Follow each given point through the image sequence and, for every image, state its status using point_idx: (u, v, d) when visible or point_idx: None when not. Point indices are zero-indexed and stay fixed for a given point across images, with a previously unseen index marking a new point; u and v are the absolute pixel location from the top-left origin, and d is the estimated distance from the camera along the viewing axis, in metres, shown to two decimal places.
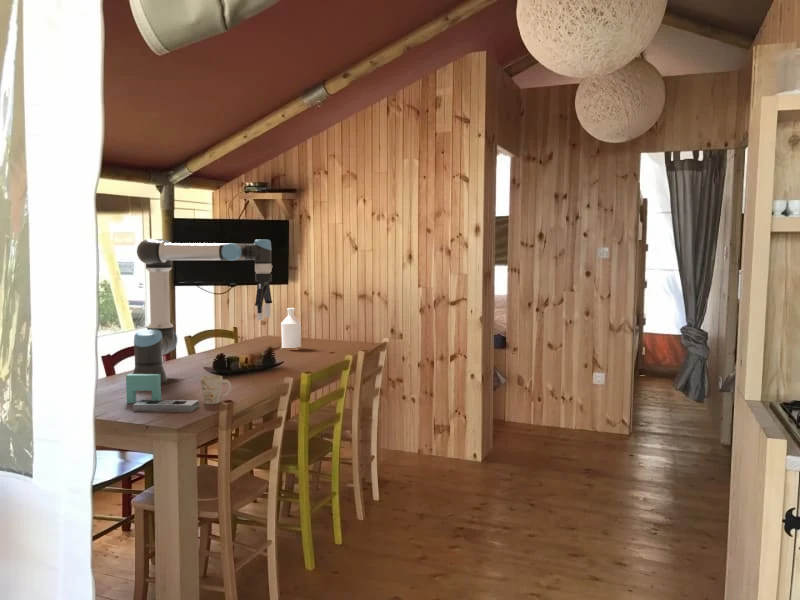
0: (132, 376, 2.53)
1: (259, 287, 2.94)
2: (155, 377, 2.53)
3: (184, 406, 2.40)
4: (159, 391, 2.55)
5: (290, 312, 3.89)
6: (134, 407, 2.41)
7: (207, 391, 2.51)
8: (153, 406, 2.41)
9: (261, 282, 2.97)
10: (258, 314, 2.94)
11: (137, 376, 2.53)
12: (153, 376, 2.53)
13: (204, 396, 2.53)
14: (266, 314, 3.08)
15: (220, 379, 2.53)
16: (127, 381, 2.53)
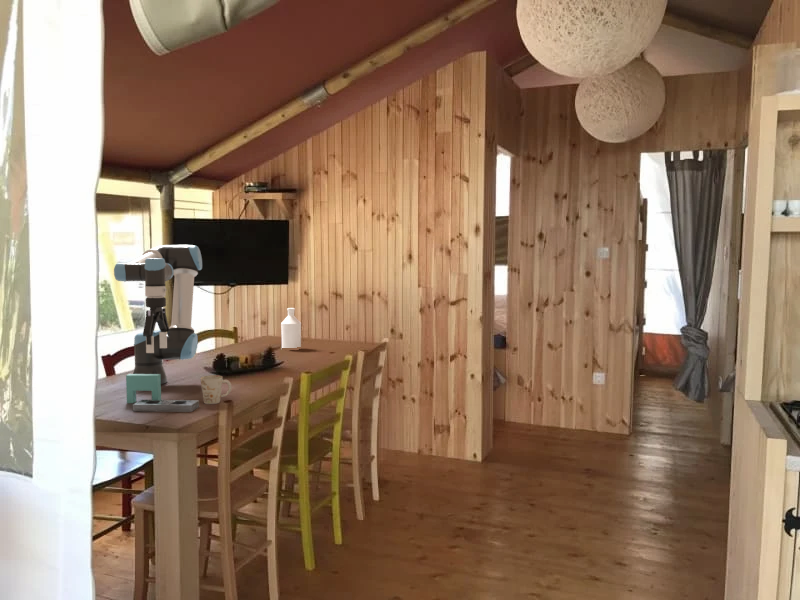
0: (132, 376, 2.53)
1: (148, 314, 2.50)
2: (155, 377, 2.53)
3: (184, 406, 2.40)
4: (159, 391, 2.55)
5: (290, 312, 3.89)
6: (134, 407, 2.41)
7: (207, 391, 2.51)
8: (153, 406, 2.41)
9: (152, 308, 2.53)
10: (147, 346, 2.51)
11: (137, 376, 2.53)
12: (153, 376, 2.53)
13: (204, 396, 2.53)
14: (161, 344, 2.64)
15: (220, 379, 2.53)
16: (127, 381, 2.53)
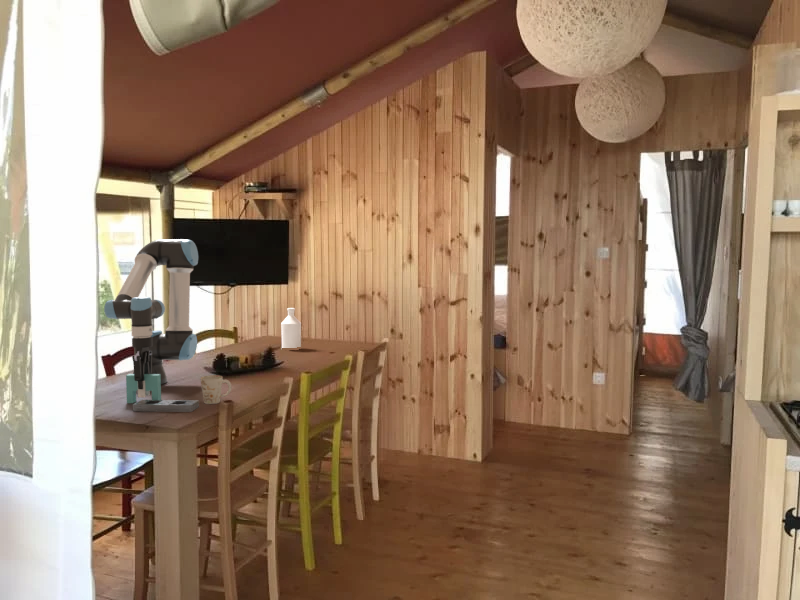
0: (132, 376, 2.53)
1: (135, 360, 2.48)
2: (155, 377, 2.53)
3: (184, 406, 2.40)
4: (159, 391, 2.55)
5: (290, 312, 3.89)
6: (134, 407, 2.41)
7: (207, 391, 2.51)
8: (153, 406, 2.41)
9: (138, 348, 2.50)
10: (139, 390, 2.52)
11: None
12: (153, 376, 2.53)
13: (204, 396, 2.53)
14: None
15: (220, 379, 2.53)
16: (127, 381, 2.53)
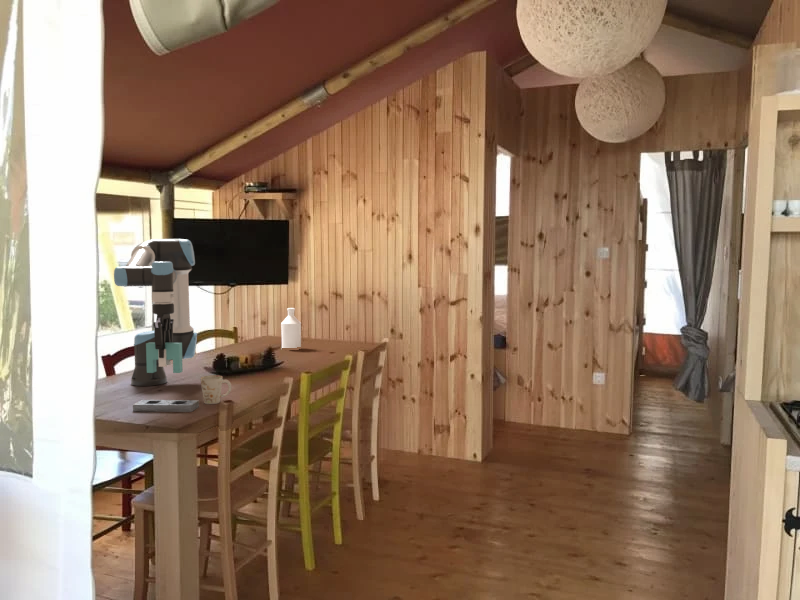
0: (152, 344, 2.41)
1: (156, 326, 2.36)
2: (176, 345, 2.41)
3: (184, 406, 2.40)
4: (181, 360, 2.43)
5: (290, 312, 3.89)
6: (134, 407, 2.41)
7: (207, 391, 2.51)
8: (153, 406, 2.41)
9: (159, 315, 2.38)
10: (160, 359, 2.41)
11: None
12: (174, 344, 2.41)
13: (204, 396, 2.53)
14: None
15: (220, 379, 2.53)
16: (147, 349, 2.42)
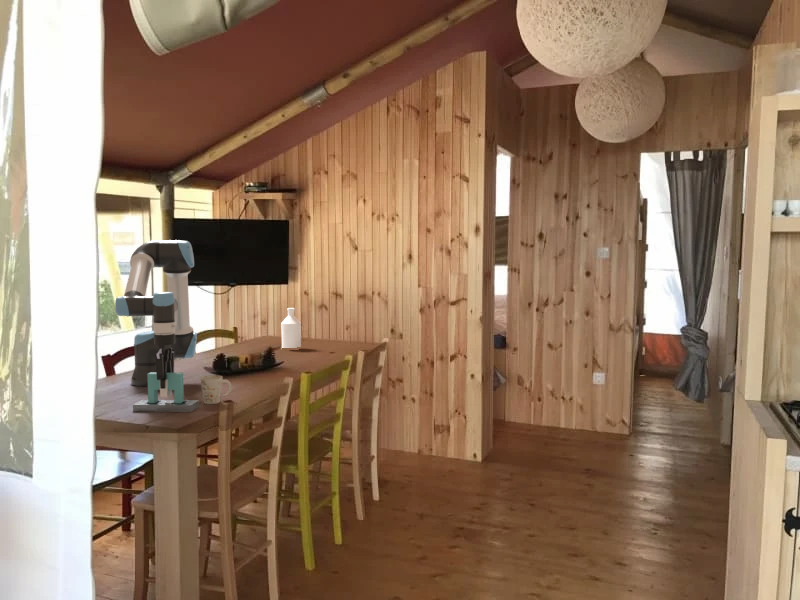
0: (154, 375, 2.42)
1: (158, 358, 2.37)
2: (178, 376, 2.42)
3: (184, 406, 2.40)
4: (182, 390, 2.44)
5: (290, 312, 3.89)
6: (134, 407, 2.41)
7: (207, 391, 2.51)
8: (153, 406, 2.41)
9: (160, 346, 2.39)
10: (161, 389, 2.42)
11: None
12: (176, 375, 2.42)
13: (204, 396, 2.53)
14: None
15: (220, 379, 2.53)
16: (148, 379, 2.42)
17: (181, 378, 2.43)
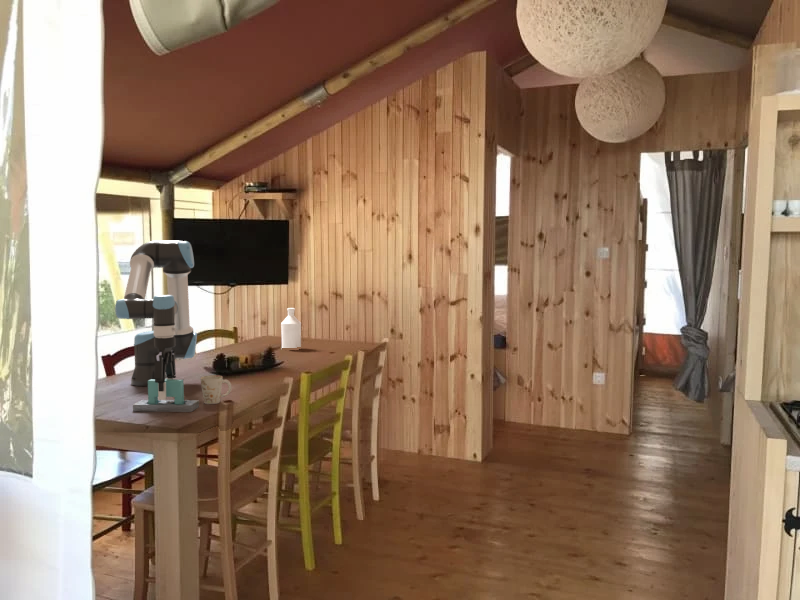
0: (154, 382, 2.42)
1: (157, 359, 2.37)
2: (178, 383, 2.42)
3: (184, 406, 2.40)
4: (182, 397, 2.44)
5: (290, 312, 3.89)
6: (134, 407, 2.41)
7: (207, 391, 2.51)
8: (153, 406, 2.41)
9: (160, 349, 2.39)
10: (160, 392, 2.40)
11: None
12: (176, 382, 2.42)
13: (204, 396, 2.53)
14: None
15: (220, 379, 2.53)
16: (149, 386, 2.43)
17: (181, 385, 2.43)
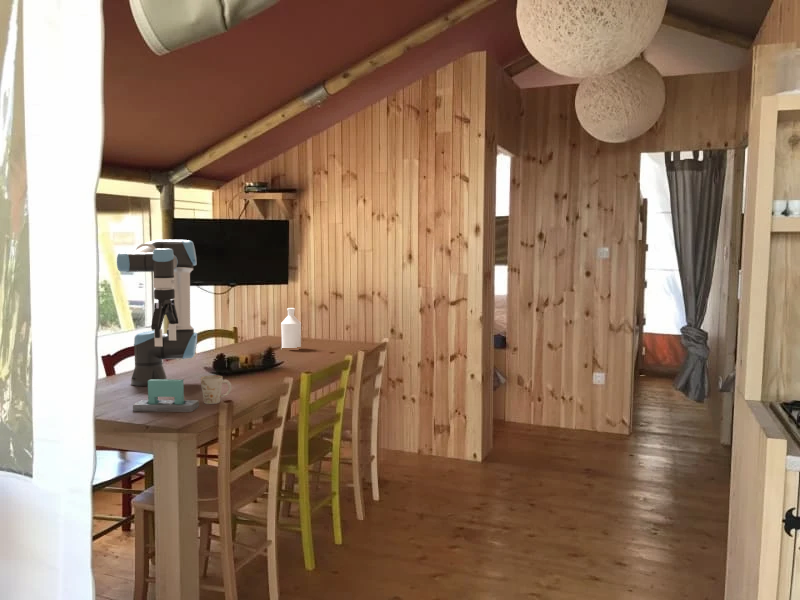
0: (154, 382, 2.42)
1: (157, 307, 2.44)
2: (178, 383, 2.42)
3: (184, 406, 2.40)
4: (182, 397, 2.44)
5: (290, 312, 3.89)
6: (134, 407, 2.41)
7: (207, 391, 2.51)
8: (153, 406, 2.41)
9: (160, 300, 2.47)
10: (156, 339, 2.45)
11: (159, 382, 2.42)
12: (176, 382, 2.42)
13: (204, 396, 2.53)
14: (171, 337, 2.58)
15: (220, 379, 2.53)
16: (149, 386, 2.43)
17: (181, 385, 2.43)
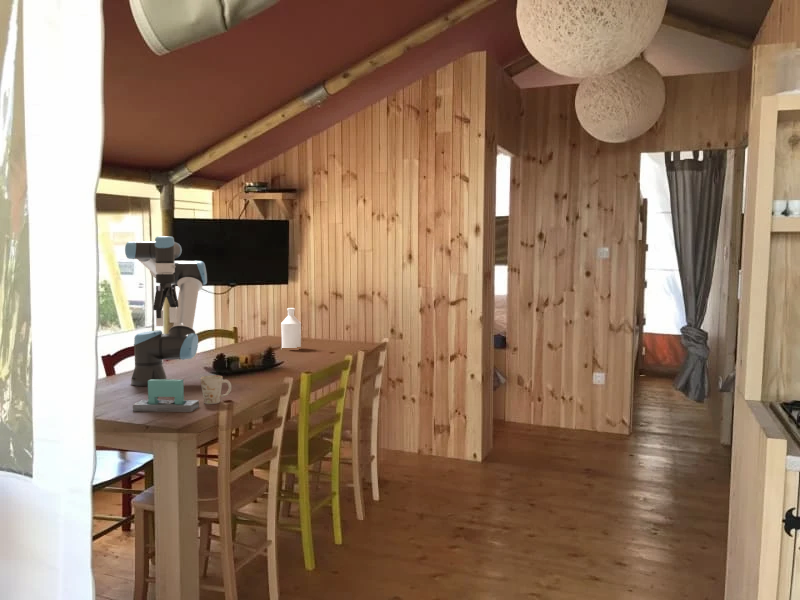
0: (154, 382, 2.42)
1: (158, 289, 2.64)
2: (178, 383, 2.42)
3: (184, 406, 2.40)
4: (182, 397, 2.44)
5: (290, 312, 3.89)
6: (134, 407, 2.41)
7: (207, 391, 2.51)
8: (153, 406, 2.41)
9: (162, 284, 2.67)
10: (157, 319, 2.64)
11: (159, 382, 2.42)
12: (176, 382, 2.42)
13: (204, 396, 2.53)
14: (171, 319, 2.78)
15: (220, 379, 2.53)
16: (149, 386, 2.43)
17: (181, 385, 2.43)
